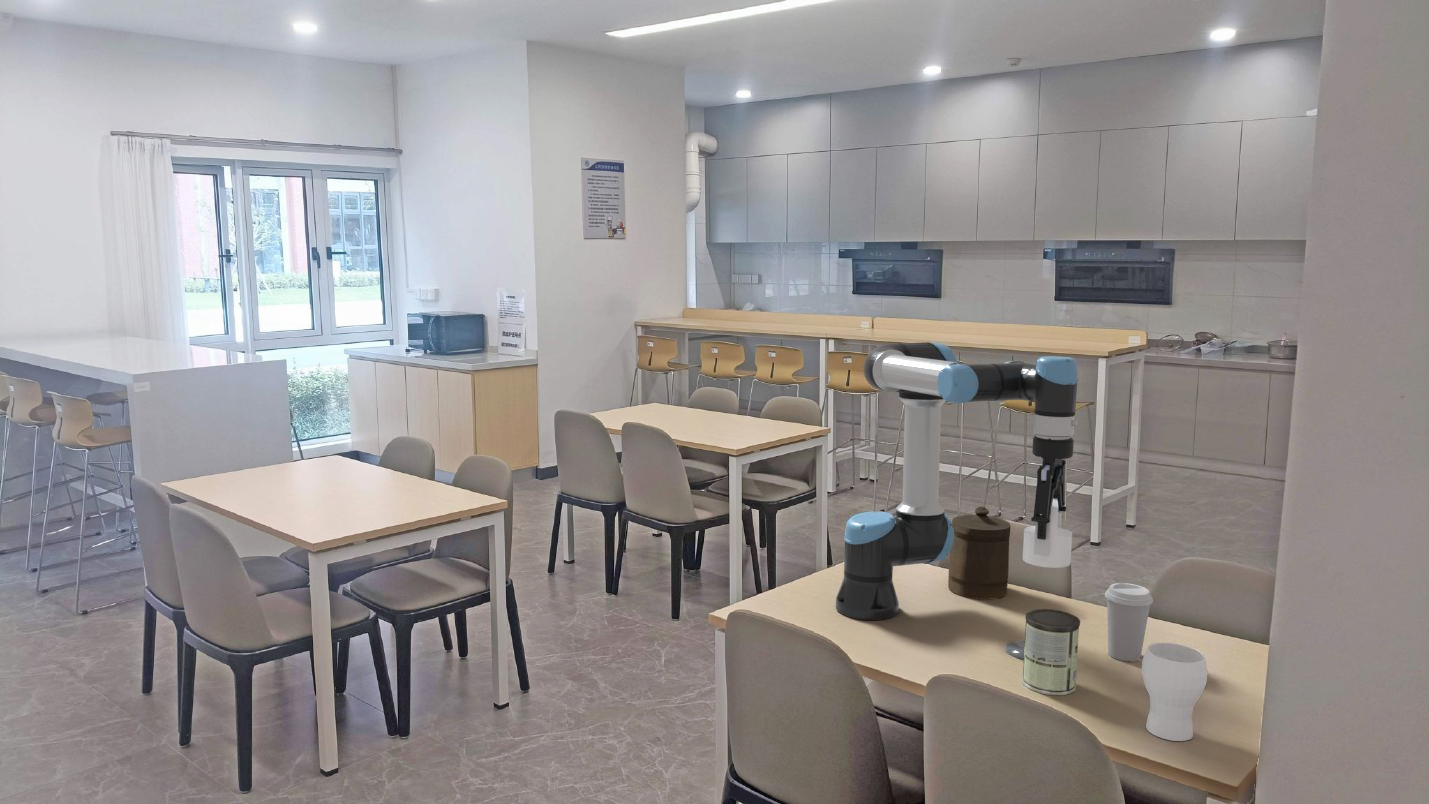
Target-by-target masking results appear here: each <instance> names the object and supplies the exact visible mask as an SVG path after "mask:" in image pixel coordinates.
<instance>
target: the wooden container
mask: <svg viewBox="0 0 1429 804" xmlns="http://www.w3.org/2000/svg"><path fill="white" fill-rule="evenodd" d="M974 513H975V514H966V515H964V514H963V515H958V516H955V517H953V518H952V520H951V522H952V526H951V527H953V529H954V541H953V546H952V549H951V551H950V553H949V557H948V558H949V559H948V560H949V561H948V580H947V581H948V582H947V588H948V590H949V589H950V591H951V592H952V593H954V594H956V595H959V596H961V597H965V598H970V599H976V598H977V599H976V600H994V599H999V598H1003V597H1005V596H1006V595H1007V593H1008V584H1009V582H1008V580H1009V566H1010V565H1009V564H1010V563H1009V561H1010V558H1009V557H1010V536H1011V524H1010V522H1009V521H1007V520H1005V519H1002V518H998V517H996V516H991V515H990V516H989V514H990V511H989V509H988V508H986V507H985V506H977V507H976V508H975V510H974Z"/></svg>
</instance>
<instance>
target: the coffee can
mask: <svg viewBox="0 0 1429 804" xmlns="http://www.w3.org/2000/svg"><path fill="white" fill-rule="evenodd" d="M1024 618H1025V630H1024V631H1025V632H1024V633H1025V634H1024V641H1025V648H1024V660H1023V667H1022V668H1023V669H1022V680H1021V681H1022V682H1021V683H1022V684H1023V685H1024V686H1025V687H1026V688H1027V689H1029V690H1031V691H1033V692H1036V693H1039V694H1043V695H1049V696H1066V695H1070V694H1072V693H1074V692H1075V691H1076V689H1077V688H1076V679H1077V668H1078V667H1077V666H1078V665H1077V664H1078V650H1079V649H1078V648H1079V636H1080V635H1079V634H1080V626H1081V619H1080V618H1079V617H1078V616H1076V615H1074V614H1072V613H1070V612H1066V611H1062V610H1059V609H1053V608H1052V609H1051V608H1036V609H1032V610H1029V611H1027V612H1026V613H1025V617H1024Z"/></svg>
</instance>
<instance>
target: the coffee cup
mask: <svg viewBox="0 0 1429 804" xmlns="http://www.w3.org/2000/svg"><path fill="white" fill-rule="evenodd" d="M1104 597H1105V598H1106V605H1107V606H1106V607H1107V609H1106V611H1107V614H1106V615H1107V652H1108V653H1107V654H1108V656H1110V657H1111V658H1113V659H1115V660H1118V661H1121V662H1128V661H1129V662H1130V663H1131V662H1132V663H1133V662H1138V661H1140V660H1141V658H1142V657H1141V656H1142V651H1143V648H1144V647H1143V646H1144V639H1145V634H1146V629H1147V624H1148V619H1149V612H1150V608H1151V605H1152V604H1153V603H1154V599H1153V596H1152V595H1151V592H1150V590H1149V589H1148V588H1146V587H1144V586H1142V585H1138V584H1133V583H1126V582H1125V583H1124V582H1117V583H1112V584H1110V585H1109V586H1108V589H1106V591H1105V593H1104Z"/></svg>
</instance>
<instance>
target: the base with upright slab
mask: <svg viewBox="0 0 1429 804" xmlns="http://www.w3.org/2000/svg"><path fill="white" fill-rule="evenodd" d="M1040 515H1043V514H1040ZM1050 522H1051V533H1050V551H1049V556H1043V555H1037V554H1034V545H1035V526H1036V525H1030V526H1026V527H1025V528H1024V529H1023V542H1022V543H1023V544H1022V545H1023V546H1022V560H1023V562H1025V563H1026V564H1029V565H1032V566H1036V567H1040V568H1049V569H1051V568H1052V569H1053V568H1054V569H1055V568H1056V569H1062V568H1066V567H1069V566H1070V565H1071V563H1072V561H1071V560H1072V545H1073V532H1072V531H1070V530H1069V529H1066V528H1062V527H1061V528H1059V527H1057V523H1058V500H1057V498H1053V502H1052V507H1051V515H1050Z"/></svg>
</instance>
